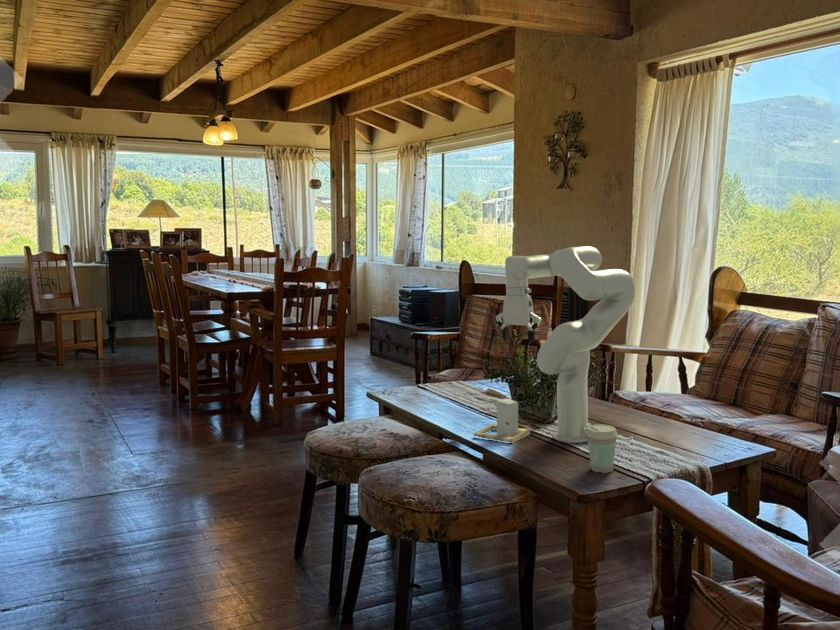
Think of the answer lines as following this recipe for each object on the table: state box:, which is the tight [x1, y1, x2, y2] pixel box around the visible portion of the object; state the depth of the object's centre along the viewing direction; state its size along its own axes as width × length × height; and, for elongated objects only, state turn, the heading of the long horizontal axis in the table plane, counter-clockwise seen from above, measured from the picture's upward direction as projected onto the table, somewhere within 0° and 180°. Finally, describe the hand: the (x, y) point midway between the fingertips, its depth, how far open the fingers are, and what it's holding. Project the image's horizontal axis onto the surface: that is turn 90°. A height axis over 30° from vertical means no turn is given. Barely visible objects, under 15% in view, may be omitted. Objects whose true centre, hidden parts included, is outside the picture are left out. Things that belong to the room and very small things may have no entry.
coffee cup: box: [586, 423, 619, 474], centre depth 202 cm, size 8×8×12 cm
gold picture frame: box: [473, 423, 531, 443], centre depth 237 cm, size 14×12×2 cm
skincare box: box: [496, 398, 519, 437], centre depth 235 cm, size 6×4×12 cm
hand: (518, 340), depth 250 cm, fingers open, 9 cm apart
